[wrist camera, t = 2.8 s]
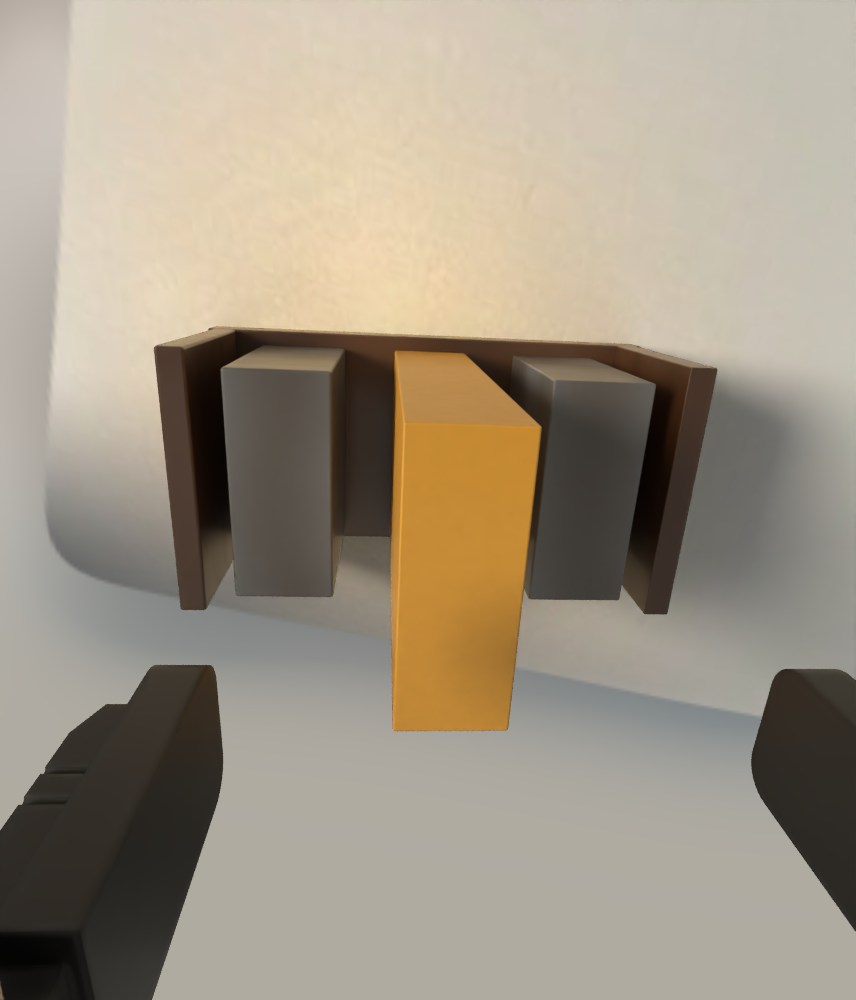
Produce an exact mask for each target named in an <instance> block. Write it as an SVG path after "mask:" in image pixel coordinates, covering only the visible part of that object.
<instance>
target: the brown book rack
mask: <svg viewBox="0 0 856 1000" xmlns="http://www.w3.org/2000/svg"><path fill="white" fill-rule="evenodd" d="M396 350H397V351H421V352H446V353H464V354H465V355H466V356H467V357H468V358H470V359H471V360H472V361H473V362H474V363H475V364H476V365H477V366H478V367H479V368H480V369H481V370H482V371H483V372H484V373H485V374H486V375H487V376H488V377H490V378H491V379H492V380H493V381H494V382H495V383H496V384H497V385H498V386H499V387H500V388H501V389H502V390H503V391H504V392H505V393H506V394H507V395H508V396H510V397H511V398H512V399H513V400H514V401H515V402H516V403H517V404H518V405H519V406H520V407H521V408H522V409H523V410H524V411H525V412H526V413H527V414H528V415H530V416H531V417H532V418H533V419H534V420H535V421H536V422H537V423H538V424H539V425H540V426H541V428H542V431H541V440H540V449H539V458H538V467H537V476H536V485H535V494H534V502H533V511H532V520H531V529H530V538H529V547H528V556H527V565H526V573H525V582H524V589H525V591H526V593H527V596H528V598H529V599H552V600H619V597H620V591H621V585H622V586H623V587H624V588H625V590H626V591H627V592H628V594H629V595H630V596H631V597H632V599H633V600H634V601H635V603H636V604H637V605H638V607H639V608H640V609H641V610H642V612H643V613H644V614H667V612H668V608H669V603H670V598H671V593H672V588H673V583H674V578H675V573H676V569H677V564H678V559H679V554H680V549H681V544H682V539H683V535H684V530H685V525H686V520H687V515H688V510H689V505H690V501H691V496H692V491H693V486H694V481H695V476H696V471H697V467H698V462H699V457H700V452H701V447H702V442H703V437H704V433H705V428H706V423H707V418H708V413H709V408H710V403H711V399H712V394H713V389H714V384H715V379H716V374H717V368H713V367H710V366H706V365H702V364H699V363H695V362H691V361H687V360H684V359H680V358H676V357H673V356H669V355H665V354H661V353H658V352H654V351H650V350H646V349H643V348H640V347H639V346H635V345H631V344H612V343H589V342H566V341H543V340H519V339H496V338H473V337H450V336H427V335H403V334H380V333H357V332H334V331H311V330H287V329H264V328H241V327H218V326H216V327H213V328H209V329H208V331H206V332H202V333H199V334H195V335H192V336H188V337H185V338H181V339H178V340H174V341H171V342H167V343H164V344H160V345H157V346H155V347H154V354H155V364H156V373H157V383H158V393H159V402H160V412H161V422H162V431H163V441H164V451H165V460H166V470H167V480H168V489H169V499H170V509H171V518H172V528H173V538H174V547H175V557H176V567H177V576H178V586H179V596H180V604H181V609H183V610H204V609H206V608H207V607H208V605H209V603H210V601H211V599H212V598H213V596H214V594H215V592H216V590H217V588H218V587H219V585H220V583H221V581H222V579H223V577H224V576H225V574H226V572H227V570H228V568H229V566H230V565H231V563H232V561H233V562H234V577H235V591H236V595H237V596H285V597H332V596H333V593H334V588H335V582H336V576H337V570H338V564H339V558H340V552H341V546H342V540H343V536H384V537H390V505H391V469H392V433H393V397H394V361H395V351H396Z"/></svg>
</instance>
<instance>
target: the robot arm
mask: <svg viewBox="0 0 856 1000" xmlns="http://www.w3.org/2000/svg"><path fill="white" fill-rule="evenodd" d="M751 766H752V774H753V779H754V782H755V786H756V788H757V790H758V793H759V795H760V797H761V799H762V800H763V802H764V803H765V805H766V806H767V807H768V809H769V810H770V812H771V813H772V815H773V816H774V817H775V819H776V820H777V822H778V823H779V824H780V826H781V827H782V829H783V830H784V831H785V833H786V834H787V836H788V837H789V838H790V840H791V841H792V843H793V844H794V845H795V847H796V848H797V850H798V851H799V853H800V854H801V855H802V857H803V858H804V860H805V861H806V862H807V864H808V865H809V867H810V868H811V869H812V871H813V872H814V874H815V875H816V876H817V878H818V879H819V881H820V882H821V883H822V885H823V886H824V888H825V889H826V890H827V892H828V893H829V895H830V896H831V898H832V899H833V900H834V902H835V903H836V904H837V906H838V907H839V909H840V910H841V912H842V913H843V914H844V916H845V917H846V918H847V920H848V921H849V923H850V924H851V926H852V927H853V928H854V930H855V931H856V680H855V679H853V678H852V677H851V676H850V675H848V674H847V673H846V672H843V671H841V670H838V669H784V670H781V671H780V672H778V673H777V674H776V676H775V677H774V679H773V682H772V685H771V688H770V692H769V695H768V699H767V702H766V706H765V709H764V713H763V716H762V720H761V723H760V727H759V730H758V734H757V737H756V741H755V745H754V748H753V752H752V759H751ZM222 772H223V749H222V738H221V726H220V715H219V705H218V692H217V682H216V675H215V671H214V668H213V667H212V666H211V665H154V666H153V667H151V668H150V669H149V670H148V672H147V673H146V675H145V676H144V678H143V680H142V681H141V683H140V685H139V686H138V688H137V689H136V691H135V693H134V694H133V696H132V697H131V699H130V701H129V702H128V704H107V705H105V706H104V707H102V708H101V709H100V710H98V711H97V712H96V713H94V714H93V715H92V716H90V717H89V718H88V719H87V720H85V721H84V722H83V723H81V724H80V725H79V726H78V727H76V728H75V729H74V730H73V731H71V732H70V733H69V734H68V736H67V737H66V738H65V740H64V741H63V743H62V744H61V746H60V747H59V748H58V750H57V751H56V753H55V754H54V755H53V757H52V758H51V760H50V761H49V763H48V764H47V765H46V767H45V773H44V774H40V775H39V777H38V778H37V779H36V781H35V782H34V784H33V785H32V786H31V788H30V789H29V791H28V792H27V794H26V795H25V796H24V802H23V804H22V805H18V806H17V808H16V809H15V810H14V812H13V813H12V815H11V816H10V818H9V819H8V820H7V822H6V823H5V825H4V826H3V828H2V829H1V830H0V1000H152V998H153V995H154V992H155V989H156V986H157V983H158V980H159V977H160V974H161V971H162V967H163V965H164V962H165V959H166V956H167V953H168V950H169V947H170V944H171V940H172V938H173V935H174V932H175V929H176V926H177V923H178V920H179V917H180V914H181V911H182V907H183V904H184V902H185V899H186V896H187V892H188V889H189V886H190V884H191V880H192V877H193V874H194V871H195V868H196V865H197V862H198V859H199V856H200V853H201V850H202V847H203V844H204V841H205V838H206V835H207V832H208V829H209V826H210V823H211V820H212V817H213V814H214V811H215V808H216V805H217V802H218V797H219V793H220V787H221V781H222Z"/></svg>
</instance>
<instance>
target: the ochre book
mask: <svg viewBox="0 0 856 1000" xmlns="http://www.w3.org/2000/svg"><path fill="white" fill-rule="evenodd" d="M541 431H542V428H541V426H540V425H539V424H538V423H537V422H536V421H535V420H534V419H533V418H532V417H531V416H530V415H528V414H527V413H526V412H525V411H524V410H523V409H522V408H521V407H520V406H519V405H518V404H517V403H516V402H515V401H514V400H513V399H512V398H511V397H510V396H508V395H507V394H506V393H505V392H504V391H503V390H502V389H501V388H500V387H499V386H498V385H497V384H496V383H495V382H494V381H493V380H492V379H491V378H490V377H488V376H487V375H486V374H485V373H484V372H483V371H482V370H481V369H480V368H479V367H478V366H477V365H476V364H475V363H474V362H473V361H472V360H471V359H470V358H468V357H467V356H466V355H465V354H464V353H446V352H421V351H397V350H396V351H395V361H394V397H393V433H392V469H391V505H390V566H391V638H392V703H393V704H392V711H393V730H394V731H476V730H477V731H480V730H481V731H485V730H488V731H491V730H507V729H508V724H509V715H510V706H511V698H512V689H513V680H514V671H515V662H516V653H517V644H518V636H519V627H520V618H521V609H522V600H523V591H524V582H525V573H526V565H527V556H528V547H529V538H530V529H531V520H532V511H533V502H534V494H535V485H536V476H537V467H538V458H539V449H540V440H541Z"/></svg>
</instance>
